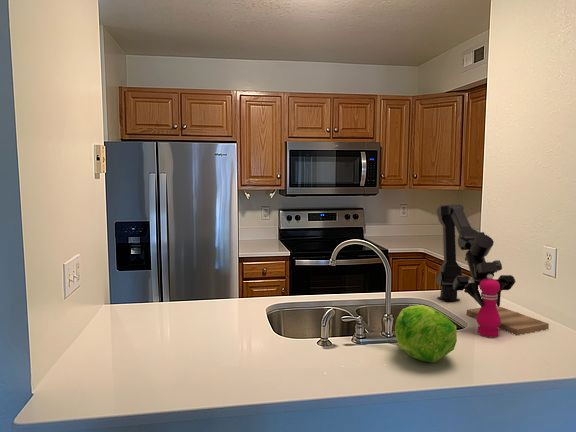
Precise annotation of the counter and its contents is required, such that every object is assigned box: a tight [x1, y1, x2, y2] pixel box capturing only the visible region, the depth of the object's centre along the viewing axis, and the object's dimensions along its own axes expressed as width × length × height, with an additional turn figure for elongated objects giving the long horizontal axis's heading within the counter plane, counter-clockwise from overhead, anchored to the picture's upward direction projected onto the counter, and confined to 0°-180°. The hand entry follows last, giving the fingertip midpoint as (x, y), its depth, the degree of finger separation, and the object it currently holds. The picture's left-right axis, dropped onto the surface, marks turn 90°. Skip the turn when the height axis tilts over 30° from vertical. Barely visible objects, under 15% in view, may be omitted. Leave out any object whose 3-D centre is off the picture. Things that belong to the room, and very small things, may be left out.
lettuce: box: [394, 304, 458, 363], centre depth 121 cm, size 17×20×15 cm
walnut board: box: [466, 304, 550, 336], centre depth 148 cm, size 22×14×2 cm, turn 20°
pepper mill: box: [476, 274, 501, 338], centre depth 137 cm, size 7×7×20 cm
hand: (490, 305), depth 135 cm, fingers closed on pepper mill, 5 cm apart
